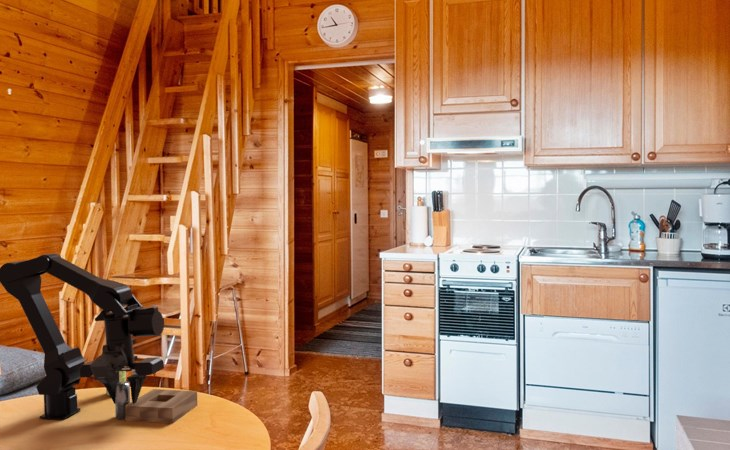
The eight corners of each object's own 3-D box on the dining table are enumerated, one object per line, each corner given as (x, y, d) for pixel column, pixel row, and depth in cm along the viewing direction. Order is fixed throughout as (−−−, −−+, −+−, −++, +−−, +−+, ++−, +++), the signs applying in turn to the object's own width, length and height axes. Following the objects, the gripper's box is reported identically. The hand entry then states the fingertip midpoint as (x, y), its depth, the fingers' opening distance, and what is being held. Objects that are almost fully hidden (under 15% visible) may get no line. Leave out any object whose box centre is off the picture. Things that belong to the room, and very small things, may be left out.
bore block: (125, 420, 134) (125, 405, 134) (153, 402, 146) (153, 389, 146) (172, 423, 132) (172, 408, 132) (197, 405, 143) (197, 391, 143)
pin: (112, 418, 135) (112, 385, 135) (121, 413, 138) (120, 381, 138) (124, 419, 134) (124, 386, 134) (133, 414, 138) (132, 381, 137)
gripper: (60, 348, 129) (67, 416, 130) (134, 344, 126) (141, 414, 126) (92, 336, 140) (98, 399, 141) (162, 333, 137) (168, 397, 137)
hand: (125, 403), depth 136 cm, fingers open, 4 cm apart
